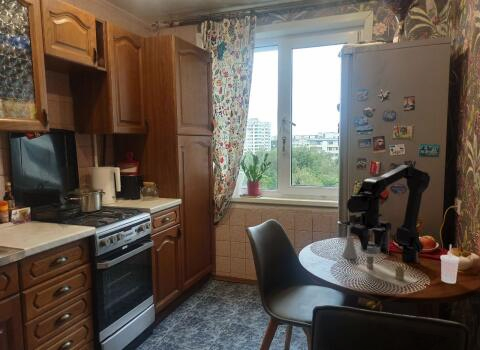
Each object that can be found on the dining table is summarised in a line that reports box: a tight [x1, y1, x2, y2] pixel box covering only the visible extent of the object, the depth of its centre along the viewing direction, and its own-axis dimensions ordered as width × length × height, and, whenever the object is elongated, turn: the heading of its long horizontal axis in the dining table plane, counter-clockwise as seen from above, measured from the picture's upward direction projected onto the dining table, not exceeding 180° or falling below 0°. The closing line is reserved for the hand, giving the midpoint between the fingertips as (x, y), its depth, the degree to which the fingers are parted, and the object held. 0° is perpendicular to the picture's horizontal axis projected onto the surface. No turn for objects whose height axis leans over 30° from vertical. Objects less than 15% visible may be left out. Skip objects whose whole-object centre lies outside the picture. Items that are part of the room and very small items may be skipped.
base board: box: [350, 255, 421, 288], centre depth 130 cm, size 12×22×6 cm, turn 32°
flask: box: [341, 235, 358, 260], centre depth 149 cm, size 7×7×10 cm
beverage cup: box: [439, 244, 461, 284], centre depth 125 cm, size 6×6×14 cm
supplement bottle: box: [372, 229, 390, 253], centre depth 160 cm, size 7×7×12 cm
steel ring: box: [360, 241, 381, 255], centre depth 135 cm, size 7×7×2 cm
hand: (370, 248), depth 135 cm, fingers closed on steel ring, 7 cm apart
